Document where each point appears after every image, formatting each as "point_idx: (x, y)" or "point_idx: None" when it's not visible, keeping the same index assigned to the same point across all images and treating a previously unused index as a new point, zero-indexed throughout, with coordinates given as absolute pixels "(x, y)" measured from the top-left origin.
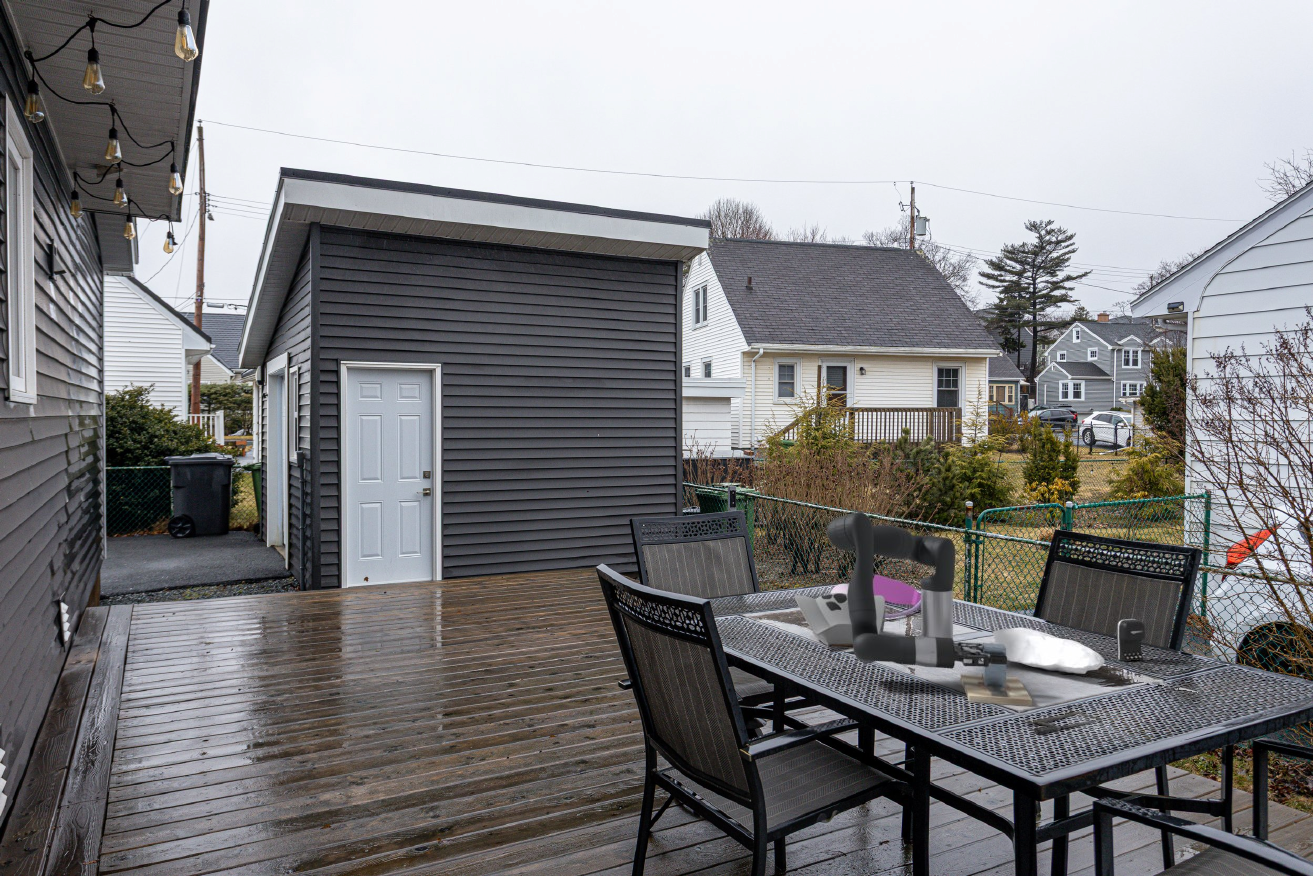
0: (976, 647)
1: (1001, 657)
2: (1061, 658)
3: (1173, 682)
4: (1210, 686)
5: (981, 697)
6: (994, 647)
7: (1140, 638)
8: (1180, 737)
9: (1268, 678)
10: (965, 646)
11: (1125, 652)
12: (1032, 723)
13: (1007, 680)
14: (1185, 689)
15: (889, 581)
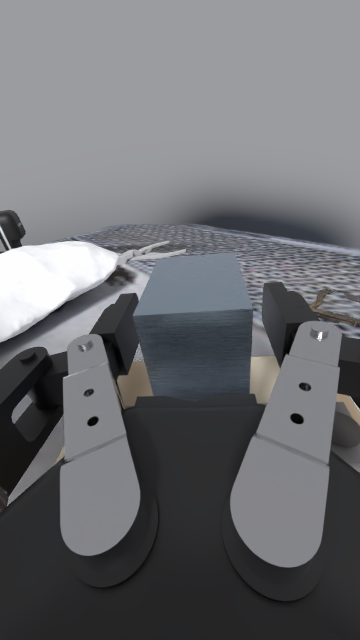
0: (113, 381)
1: (293, 298)
2: (70, 275)
3: (118, 251)
4: (133, 241)
5: None
6: (241, 276)
7: (24, 232)
8: (344, 250)
9: (112, 229)
10: (139, 481)
11: None
12: None
13: (128, 389)
14: (149, 246)
15: None
